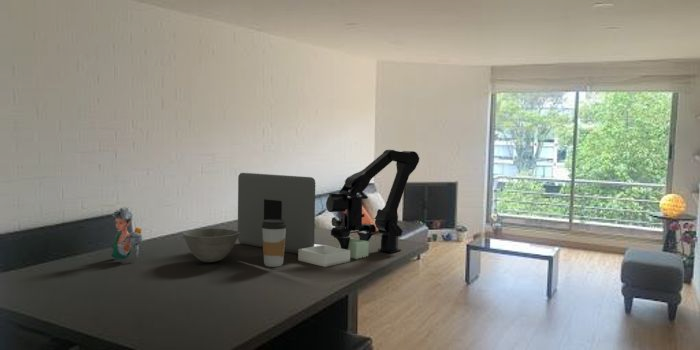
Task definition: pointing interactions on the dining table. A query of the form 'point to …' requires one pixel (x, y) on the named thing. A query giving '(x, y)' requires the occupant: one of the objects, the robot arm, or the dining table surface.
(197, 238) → the bowl
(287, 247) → the laptop
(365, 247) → the small crate
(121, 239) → the character figurine
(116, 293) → the dining table surface
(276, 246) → the coffee cup
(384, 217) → the robot arm
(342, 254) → the big crate
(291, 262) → the dining table surface
